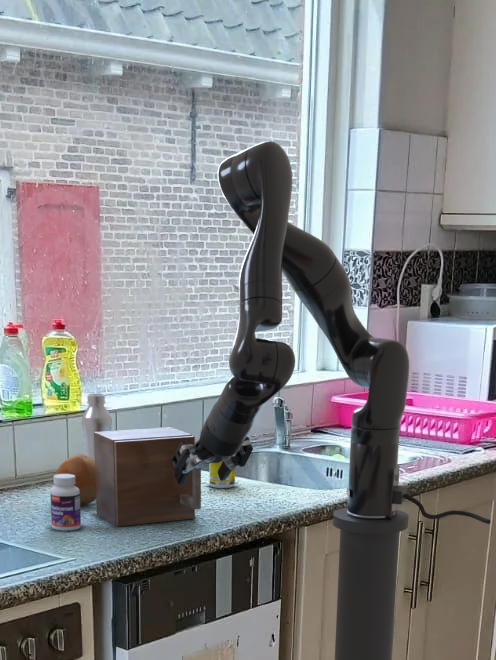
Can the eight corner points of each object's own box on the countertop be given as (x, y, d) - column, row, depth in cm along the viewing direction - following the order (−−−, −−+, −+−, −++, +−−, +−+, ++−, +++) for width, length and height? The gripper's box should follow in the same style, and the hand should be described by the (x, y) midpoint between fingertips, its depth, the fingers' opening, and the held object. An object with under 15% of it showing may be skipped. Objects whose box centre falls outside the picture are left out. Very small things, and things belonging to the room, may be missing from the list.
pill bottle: (47, 530, 222) (45, 477, 218) (57, 523, 227) (54, 472, 223) (76, 531, 221) (74, 479, 217) (84, 525, 226) (82, 473, 222)
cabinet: (192, 517, 233) (192, 434, 227) (115, 525, 226) (113, 440, 220) (171, 507, 241) (170, 427, 235) (96, 514, 234) (93, 432, 228)
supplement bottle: (235, 489, 259) (235, 441, 255) (209, 488, 259) (209, 441, 255) (234, 483, 264) (235, 436, 260) (209, 483, 264) (209, 436, 260)
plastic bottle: (84, 494, 252) (80, 396, 244) (83, 487, 258) (79, 392, 251) (115, 493, 253) (112, 396, 245) (113, 487, 259) (110, 392, 252)
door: (210, 525, 226) (210, 442, 220) (132, 534, 219) (130, 447, 213) (192, 517, 233) (192, 435, 227) (116, 525, 226) (113, 441, 220)
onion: (56, 499, 246) (54, 450, 243) (105, 499, 247) (103, 450, 244) (53, 510, 237) (51, 459, 234) (104, 509, 238) (102, 459, 235)
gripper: (257, 404, 212) (227, 458, 226) (184, 408, 206) (158, 464, 219) (271, 439, 210) (240, 492, 223) (198, 444, 203) (170, 498, 217)
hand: (199, 478), depth 221 cm, fingers open, 8 cm apart
